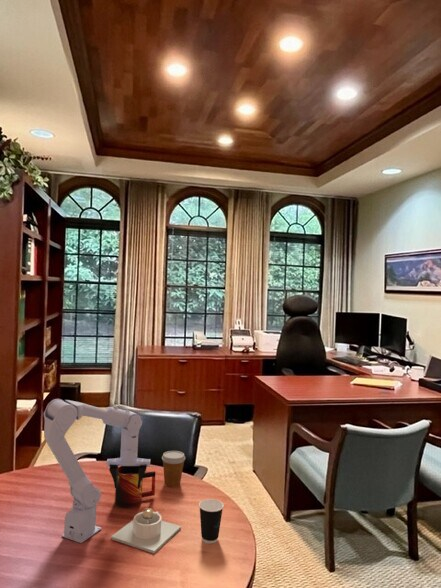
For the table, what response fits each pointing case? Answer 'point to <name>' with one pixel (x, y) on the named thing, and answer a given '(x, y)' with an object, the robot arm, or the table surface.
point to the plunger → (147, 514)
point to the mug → (131, 487)
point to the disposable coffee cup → (173, 467)
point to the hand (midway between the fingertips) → (127, 486)
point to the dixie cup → (210, 519)
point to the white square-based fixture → (146, 533)
